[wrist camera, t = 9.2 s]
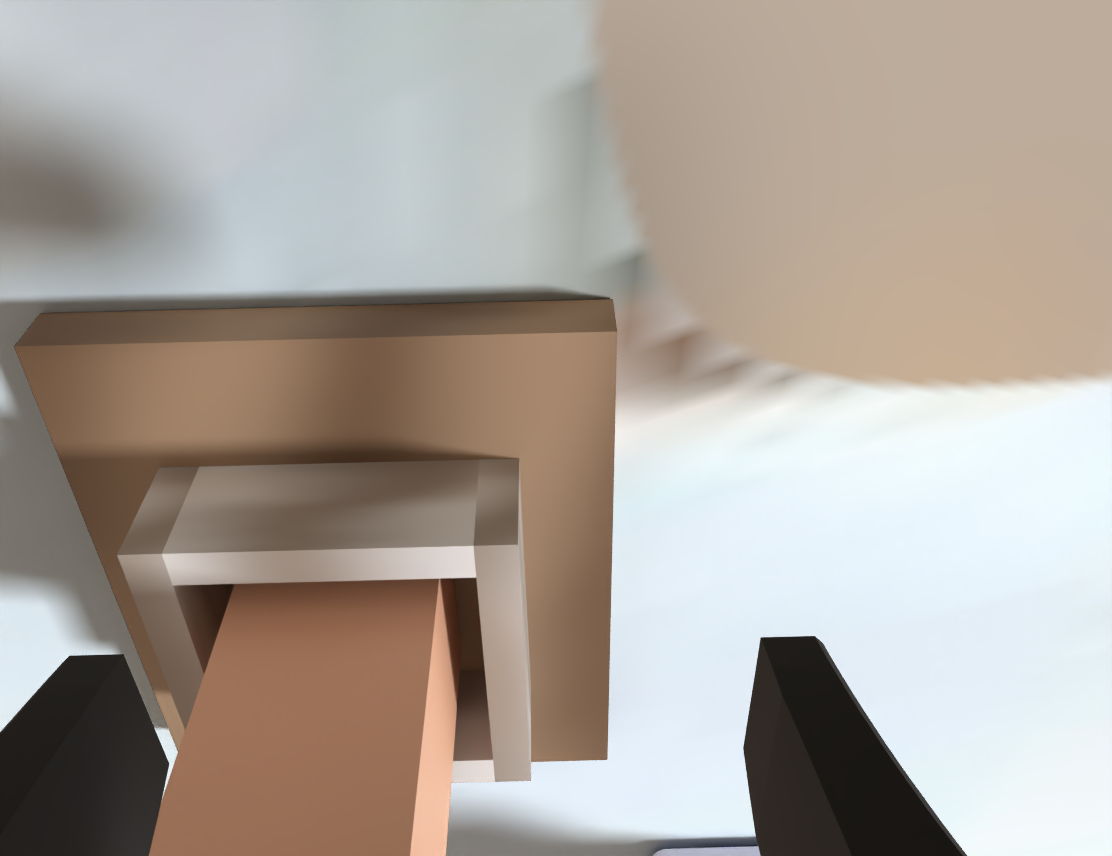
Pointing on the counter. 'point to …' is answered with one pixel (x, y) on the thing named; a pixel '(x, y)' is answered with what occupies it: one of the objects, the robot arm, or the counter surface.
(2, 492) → the counter surface
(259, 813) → the peg
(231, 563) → the socket board
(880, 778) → the robot arm
